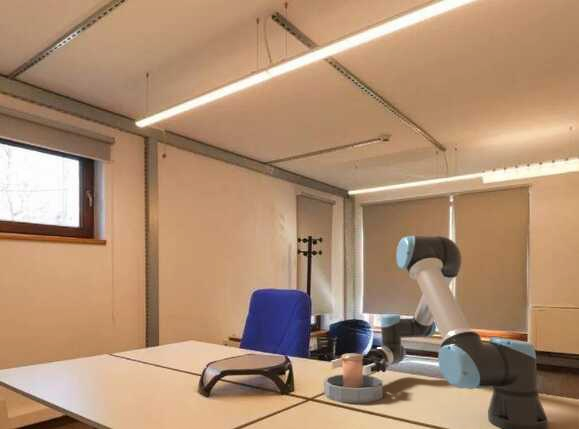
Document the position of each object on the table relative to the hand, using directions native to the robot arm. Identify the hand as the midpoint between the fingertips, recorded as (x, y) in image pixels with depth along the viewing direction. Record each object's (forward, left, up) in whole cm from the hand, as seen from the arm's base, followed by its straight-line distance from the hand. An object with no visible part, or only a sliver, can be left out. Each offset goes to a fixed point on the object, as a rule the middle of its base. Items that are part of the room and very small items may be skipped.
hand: (347, 367), depth 148 cm
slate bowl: (+3, -1, -9) cm, 10 cm away
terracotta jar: (+3, -1, -8) cm, 9 cm away
